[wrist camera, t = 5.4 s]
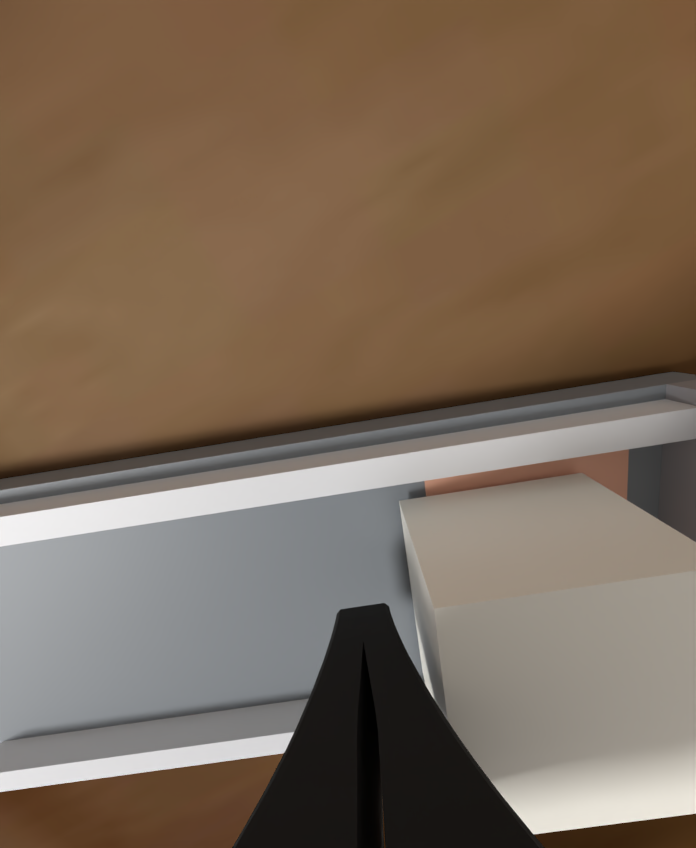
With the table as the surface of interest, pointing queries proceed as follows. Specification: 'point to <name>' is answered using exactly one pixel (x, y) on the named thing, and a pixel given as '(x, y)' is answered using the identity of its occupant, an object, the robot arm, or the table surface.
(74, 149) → the table surface
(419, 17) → the table surface
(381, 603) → the robot arm
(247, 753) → the rail base
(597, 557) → the slider block
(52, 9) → the table surface
